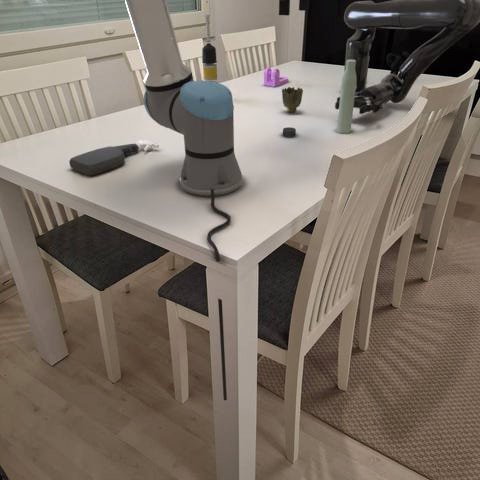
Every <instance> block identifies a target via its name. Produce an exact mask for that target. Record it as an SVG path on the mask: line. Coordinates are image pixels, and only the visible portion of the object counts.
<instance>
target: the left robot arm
mask: <svg viewBox="0 0 480 480" xmlns="http://www.w3.org/2000/svg"><path fill="white" fill-rule="evenodd" d="M124 1H125V2H124V3H125V5H126V8H127V12H128V15H129V18H130V21H131V24H132V28H133V31H134V34H135V37H136V40H137V43H138V47H139V50H140V53H141V56H142V59H143V63H144V66H145V69H146V75H145V77H144V79H143V85H144V87H145V91H144V93H143V107H144V109H145V111H146V113H147V115H148V116H149V117H150V119H152V120H153V121H154V122H156V123H157V124H158V125H159V126H161V127H164V128H165V129H170V130H171V131H173V132H175V133H178V134H180V135H182V136H183V141H184V142H183V143H184V154H185V155H184V158H183V164H182V168H181V171H180V177H179V183H180V184H179V185H180V188H181V189H182V191H184V192H186V193H187V194H190V195H194V196H199V197H210V206H211V208H212V210H213V211H214V212H216V213H217V214H219V215H221V216H224V217H225V218H226V219H227V220H226V221H224V222H222V223H221V224H219V225H217V226H214V227H213V228H211V229H210V230H209V231H208V233H207V235H206V241H207V242H208V244H210V246H211V248H212V250H213V251H214V255H215V261H216V262H217V263H219V262H221V257H220V252H219V249H218V247H217V246H216V243H214V241H213V239H212V238H211V237H212V234H213V233H215V232H217V231H218V230H220V229H223V228H225V227H226V226H228V225H229V224H230V223H231V220H232V219H231V216H230V214H228V213H227V212H225V211H223V210H220V209H218V208H217V207H216V206H215V197H221V196H224V195H229V194H232V193H234V192H235V191H237V190H239V189H240V188H241V187H242V185H243V174H242V171H241V168H240V165H239V163H238V160H237V157H236V154H235V132H234V131H235V129H234V127H235V126H234V123H235V121H234V118H235V117H234V110H235V105H234V101H233V94H232V91H231V90H230V89H229V87H227V86H226V85H224V84H222V83H220V82H218V81H215V82H208V80H194V76H193V72H192V70H191V67H189V66H188V65H186V64H184V63H183V60H182V55H181V52H180V48H179V43H178V41H177V36H176V32H175V29H174V25H173V21H172V17H171V14H170V10H169V6H168V2H167V0H124ZM298 2H299V3H298V11H300V12H301V11H304V12H306V11H307V12H308V11H310V0H298ZM290 9H291V0H278V16H290V13H291V10H290ZM217 82H218V83H217ZM217 306H218V321H219V323H218V324H219V339H220V342H219V343H220V357H221V360H220V361H221V373H222V375H221V377H222V392H223V393H222V394H223V400H224V401H227V399H228V393H227V373H226V354H225V353H226V351H225V333H224V313H223V300H222V299H221V298H219V297H218V298H217Z"/></svg>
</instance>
